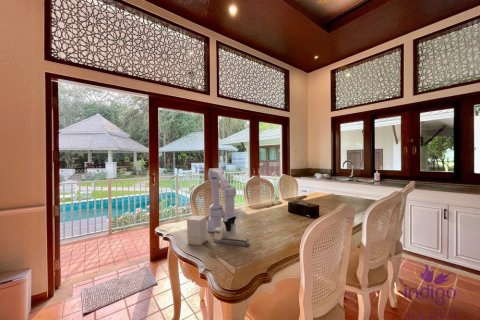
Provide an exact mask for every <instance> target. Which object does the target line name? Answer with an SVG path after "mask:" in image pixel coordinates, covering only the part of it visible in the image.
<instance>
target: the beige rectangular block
mask: <svg viewBox="0 0 480 320" xmlns="http://www.w3.org/2000/svg"><path fill="white" fill-rule="evenodd" d="M223 228H224V227H222V228H219V227H217V228H215V229H214V232H213V234H214V237H213V240H214V239H217V240H221V239H222V238H224V229H223Z"/></svg>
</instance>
